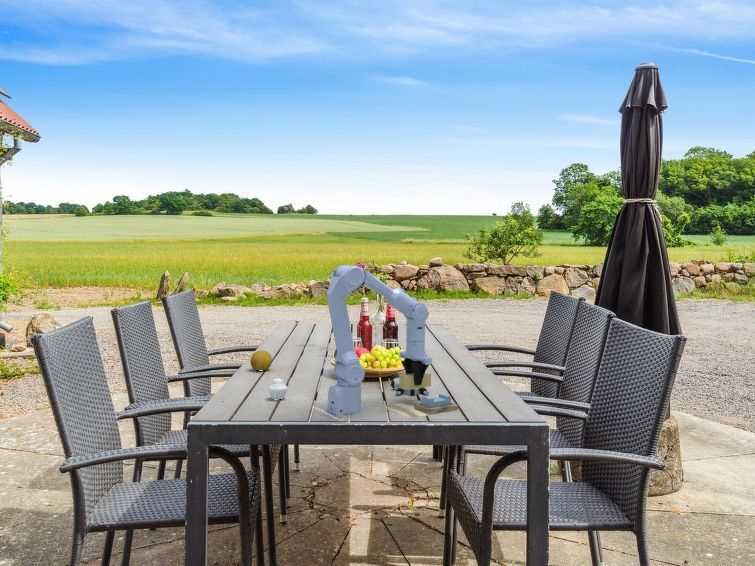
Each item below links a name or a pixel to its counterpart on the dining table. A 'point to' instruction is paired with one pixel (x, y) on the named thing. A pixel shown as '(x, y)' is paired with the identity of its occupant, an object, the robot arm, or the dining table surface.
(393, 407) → the jig
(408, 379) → the yellow rectangular block
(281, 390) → the white lidded jar
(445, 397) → the blue notched block
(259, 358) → the fruit
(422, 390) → the robot toy
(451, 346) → the dining table surface
